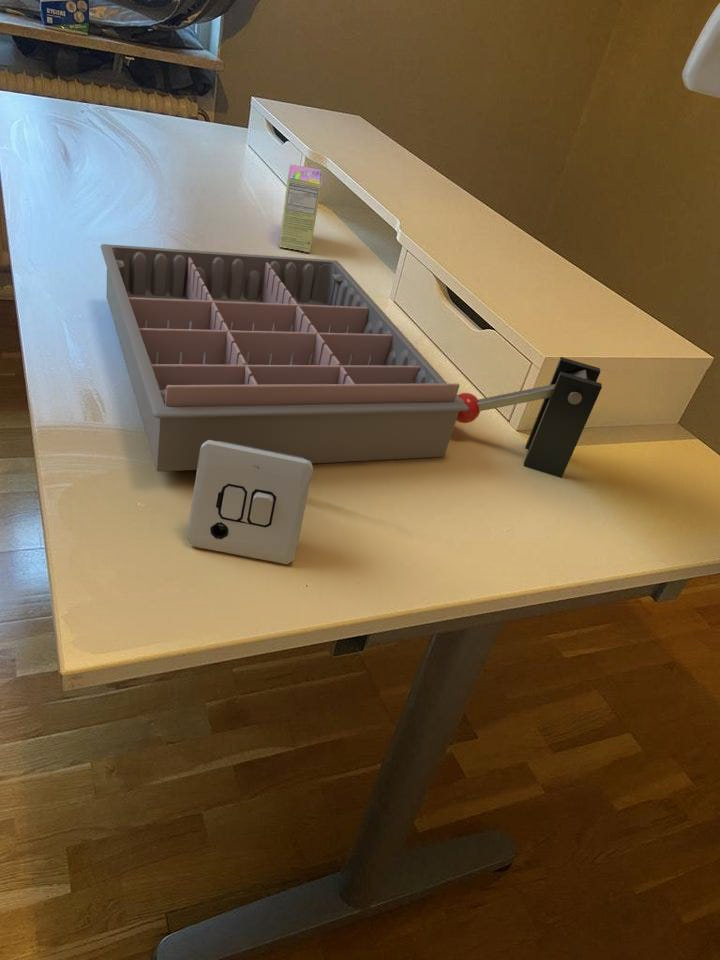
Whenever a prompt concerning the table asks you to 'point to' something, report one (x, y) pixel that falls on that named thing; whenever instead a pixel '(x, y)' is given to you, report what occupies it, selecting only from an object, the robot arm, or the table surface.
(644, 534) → the table surface
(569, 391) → the switch bracket
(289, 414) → the organizer tray
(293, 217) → the box
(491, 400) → the switch lever
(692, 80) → the robot arm
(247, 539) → the electrical switch
